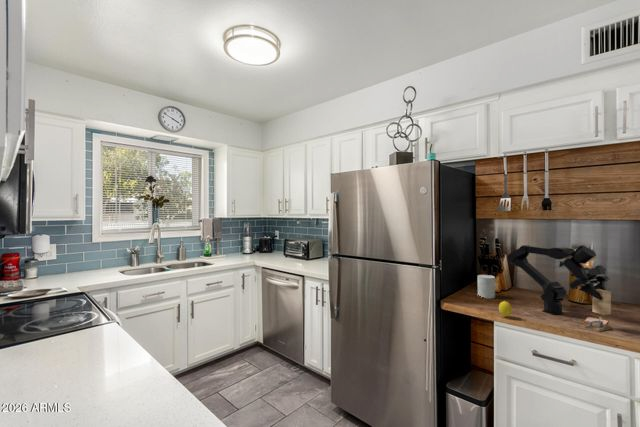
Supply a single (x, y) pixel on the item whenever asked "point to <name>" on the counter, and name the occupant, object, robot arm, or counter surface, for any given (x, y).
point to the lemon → (505, 308)
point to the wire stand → (597, 325)
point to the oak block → (602, 303)
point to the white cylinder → (486, 286)
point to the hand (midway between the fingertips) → (605, 298)
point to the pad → (595, 320)
